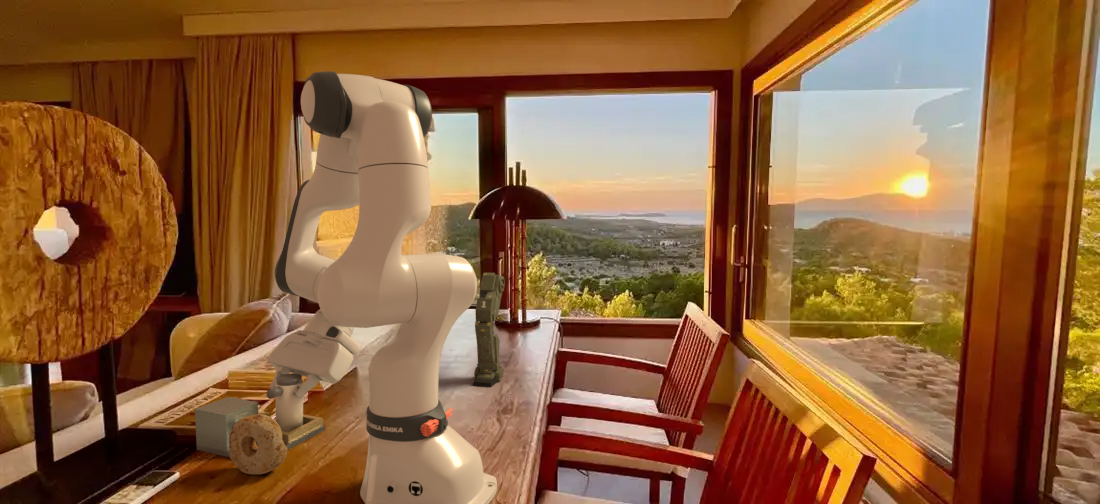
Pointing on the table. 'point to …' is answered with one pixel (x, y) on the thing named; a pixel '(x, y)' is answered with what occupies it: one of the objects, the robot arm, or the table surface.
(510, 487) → the table surface
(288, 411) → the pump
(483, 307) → the mechanical leg
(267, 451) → the stone disc
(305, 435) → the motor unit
